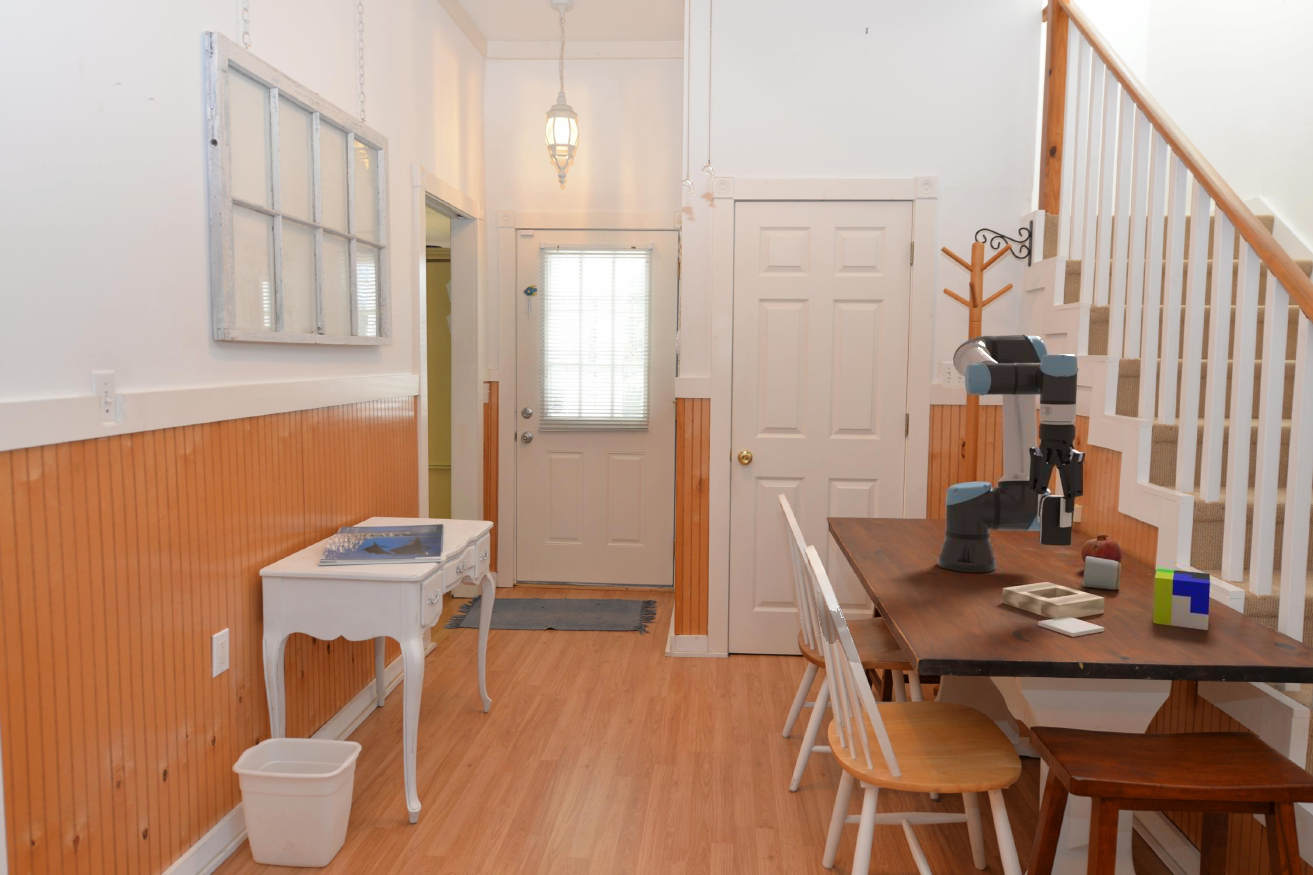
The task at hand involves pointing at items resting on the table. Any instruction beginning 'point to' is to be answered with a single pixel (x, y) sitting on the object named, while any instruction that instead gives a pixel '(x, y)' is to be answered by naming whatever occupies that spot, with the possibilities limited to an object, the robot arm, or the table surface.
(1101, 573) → the grey rounded block
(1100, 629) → the white square tile
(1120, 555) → the fruit
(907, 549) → the table surface
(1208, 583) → the puzzle toy
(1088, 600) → the holder block
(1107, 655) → the table surface
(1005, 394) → the robot arm
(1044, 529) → the battery charger
